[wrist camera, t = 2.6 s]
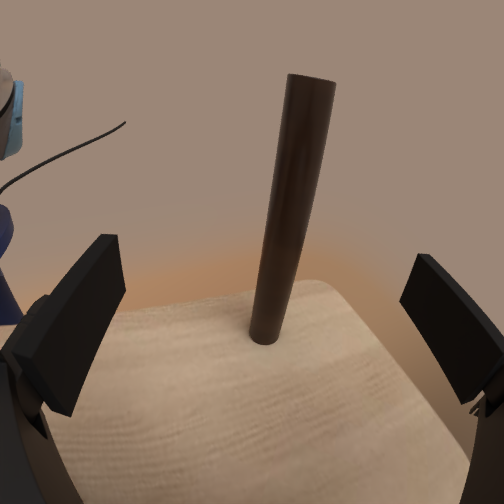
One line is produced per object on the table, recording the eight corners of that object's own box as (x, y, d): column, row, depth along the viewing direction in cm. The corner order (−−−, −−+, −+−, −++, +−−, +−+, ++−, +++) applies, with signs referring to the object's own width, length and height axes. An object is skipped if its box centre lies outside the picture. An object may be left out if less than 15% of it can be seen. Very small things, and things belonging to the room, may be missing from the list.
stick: (245, 324, 25) (280, 72, 13) (272, 319, 25) (320, 80, 14) (254, 347, 23) (301, 74, 11) (283, 341, 24) (345, 84, 12)
